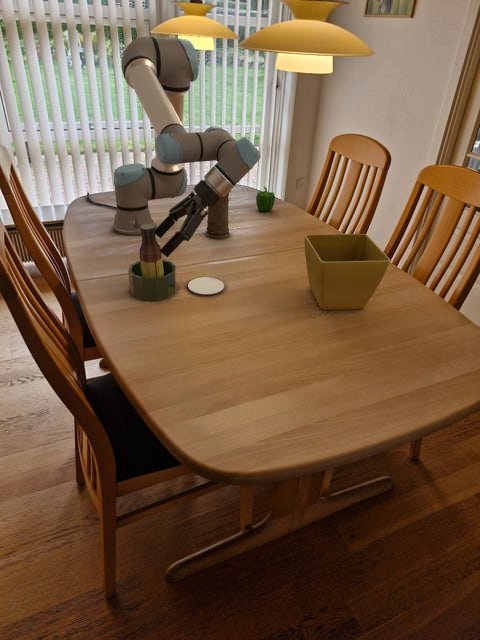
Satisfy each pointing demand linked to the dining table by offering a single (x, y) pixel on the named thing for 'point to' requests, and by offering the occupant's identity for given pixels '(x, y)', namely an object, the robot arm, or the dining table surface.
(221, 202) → the container
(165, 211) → the dining table surface
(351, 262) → the flower pot
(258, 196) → the bell pepper
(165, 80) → the robot arm
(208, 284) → the coaster
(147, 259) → the sauce bottle
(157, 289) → the crock
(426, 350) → the dining table surface
